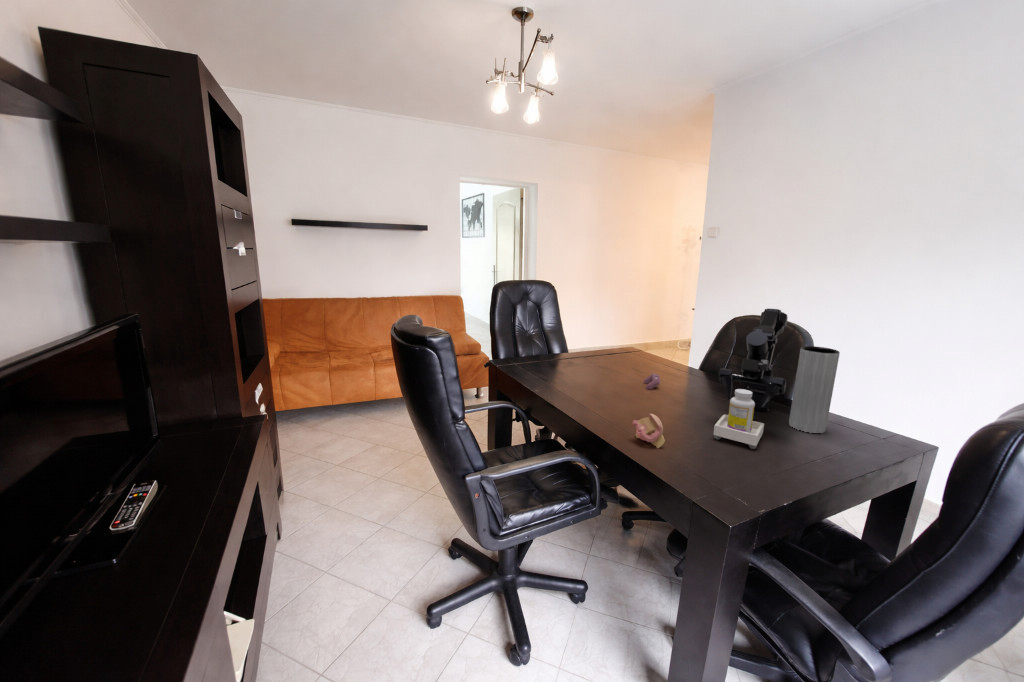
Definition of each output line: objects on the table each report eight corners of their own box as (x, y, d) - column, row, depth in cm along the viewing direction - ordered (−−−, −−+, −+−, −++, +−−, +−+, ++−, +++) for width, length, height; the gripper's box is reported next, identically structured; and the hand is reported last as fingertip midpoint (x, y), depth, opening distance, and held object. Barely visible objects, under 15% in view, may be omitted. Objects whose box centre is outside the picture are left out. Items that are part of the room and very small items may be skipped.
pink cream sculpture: (636, 433, 129) (660, 416, 127) (654, 459, 122) (679, 441, 120) (624, 425, 123) (648, 407, 121) (641, 452, 116) (667, 433, 114)
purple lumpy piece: (654, 393, 170) (663, 380, 168) (645, 388, 170) (653, 375, 168) (651, 386, 179) (659, 373, 178) (642, 381, 180) (650, 368, 178)
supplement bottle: (739, 424, 128) (744, 387, 125) (756, 433, 122) (761, 394, 119) (721, 426, 127) (726, 388, 124) (737, 435, 120) (743, 395, 118)
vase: (792, 419, 139) (804, 344, 134) (827, 427, 132) (842, 349, 127) (785, 427, 133) (797, 349, 127) (822, 437, 126) (837, 354, 120)
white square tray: (722, 427, 133) (723, 414, 132) (762, 437, 125) (764, 423, 124) (712, 439, 124) (714, 425, 123) (755, 451, 117) (757, 436, 116)
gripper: (722, 344, 132) (710, 384, 126) (790, 353, 120) (779, 397, 114) (725, 362, 140) (714, 400, 134) (789, 372, 128) (779, 414, 122)
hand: (744, 403), depth 126 cm, fingers open, 9 cm apart
